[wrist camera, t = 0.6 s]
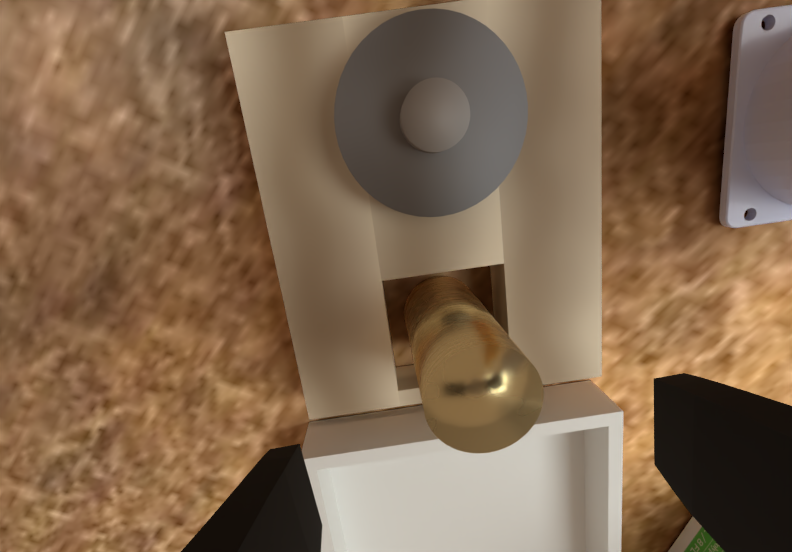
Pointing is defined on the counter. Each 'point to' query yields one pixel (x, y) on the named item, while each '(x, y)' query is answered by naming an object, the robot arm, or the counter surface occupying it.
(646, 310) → the counter surface
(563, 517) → the tray
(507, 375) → the lock pin
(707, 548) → the skincare box
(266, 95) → the tensioner bracket
